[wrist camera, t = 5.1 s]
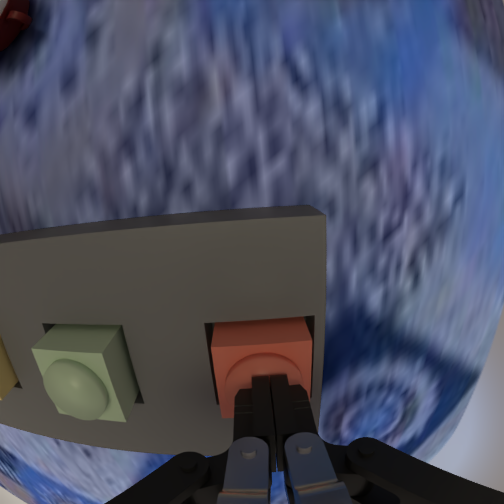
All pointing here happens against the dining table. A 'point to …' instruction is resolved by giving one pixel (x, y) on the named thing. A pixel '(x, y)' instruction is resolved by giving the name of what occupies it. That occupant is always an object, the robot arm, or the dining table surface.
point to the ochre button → (6, 372)
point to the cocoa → (12, 20)
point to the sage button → (88, 371)
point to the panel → (159, 312)
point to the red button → (259, 355)
